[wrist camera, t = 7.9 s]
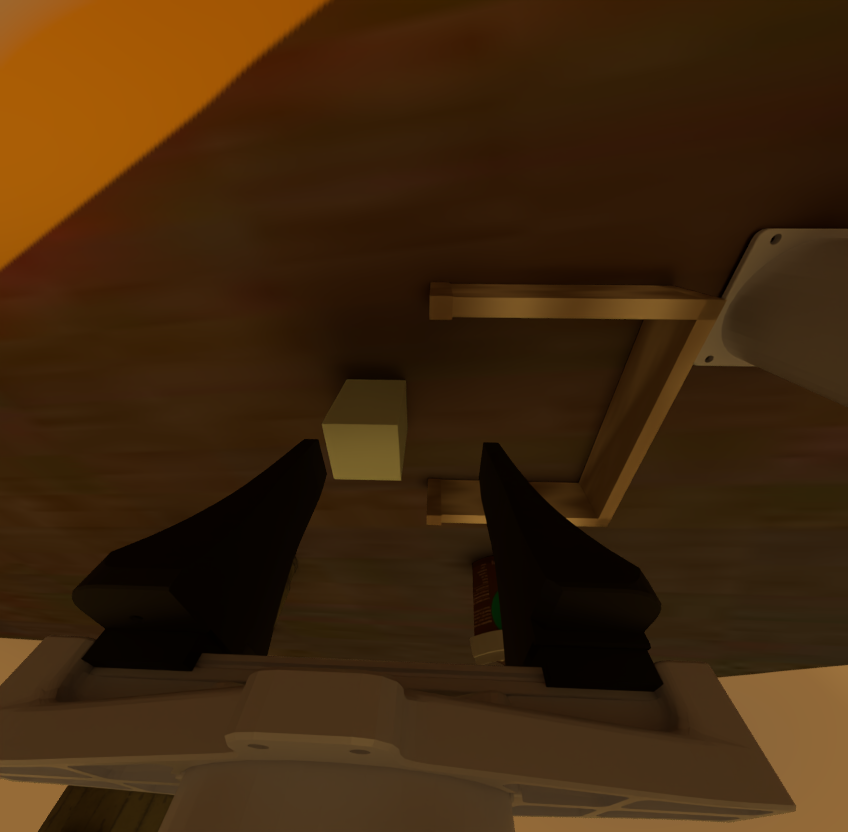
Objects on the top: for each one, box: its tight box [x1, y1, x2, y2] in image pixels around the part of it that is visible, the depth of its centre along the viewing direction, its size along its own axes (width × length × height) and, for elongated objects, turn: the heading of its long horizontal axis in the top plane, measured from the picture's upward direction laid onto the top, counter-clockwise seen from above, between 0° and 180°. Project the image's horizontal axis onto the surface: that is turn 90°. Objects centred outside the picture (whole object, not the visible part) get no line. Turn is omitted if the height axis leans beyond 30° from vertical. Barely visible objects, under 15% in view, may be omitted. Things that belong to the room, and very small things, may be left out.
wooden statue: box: [38, 557, 297, 832], centre depth 21 cm, size 9×12×35 cm
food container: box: [469, 555, 505, 666], centre depth 31 cm, size 12×6×10 cm, turn 53°
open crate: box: [427, 282, 727, 527], centre depth 22 cm, size 15×18×4 cm
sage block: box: [322, 379, 408, 480], centre depth 21 cm, size 4×4×6 cm
